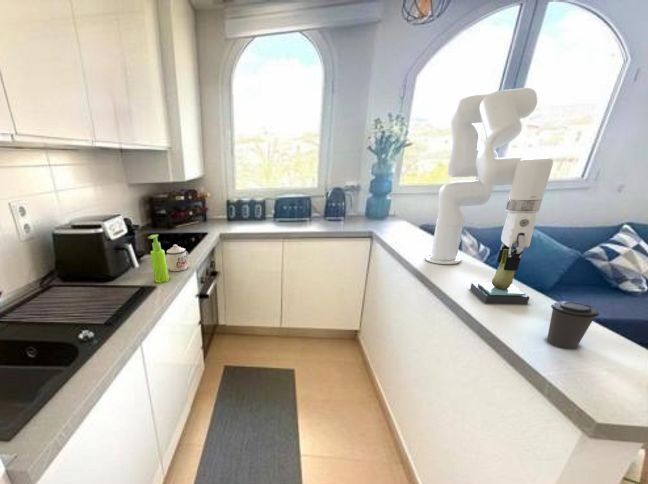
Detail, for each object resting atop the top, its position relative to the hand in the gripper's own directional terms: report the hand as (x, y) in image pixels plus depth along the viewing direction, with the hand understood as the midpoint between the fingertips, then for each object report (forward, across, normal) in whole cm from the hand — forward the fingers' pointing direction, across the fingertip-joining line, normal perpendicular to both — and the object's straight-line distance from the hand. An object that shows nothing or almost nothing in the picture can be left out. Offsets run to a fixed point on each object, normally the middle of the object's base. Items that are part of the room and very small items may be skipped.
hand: (506, 265), depth 104 cm
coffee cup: (+11, -28, -7) cm, 31 cm away
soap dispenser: (+11, -8, +122) cm, 123 cm away
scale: (+11, +1, 0) cm, 11 cm away
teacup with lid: (+11, +10, +124) cm, 125 cm away
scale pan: (+8, 0, 0) cm, 8 cm away
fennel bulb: (+7, 0, 0) cm, 7 cm away
